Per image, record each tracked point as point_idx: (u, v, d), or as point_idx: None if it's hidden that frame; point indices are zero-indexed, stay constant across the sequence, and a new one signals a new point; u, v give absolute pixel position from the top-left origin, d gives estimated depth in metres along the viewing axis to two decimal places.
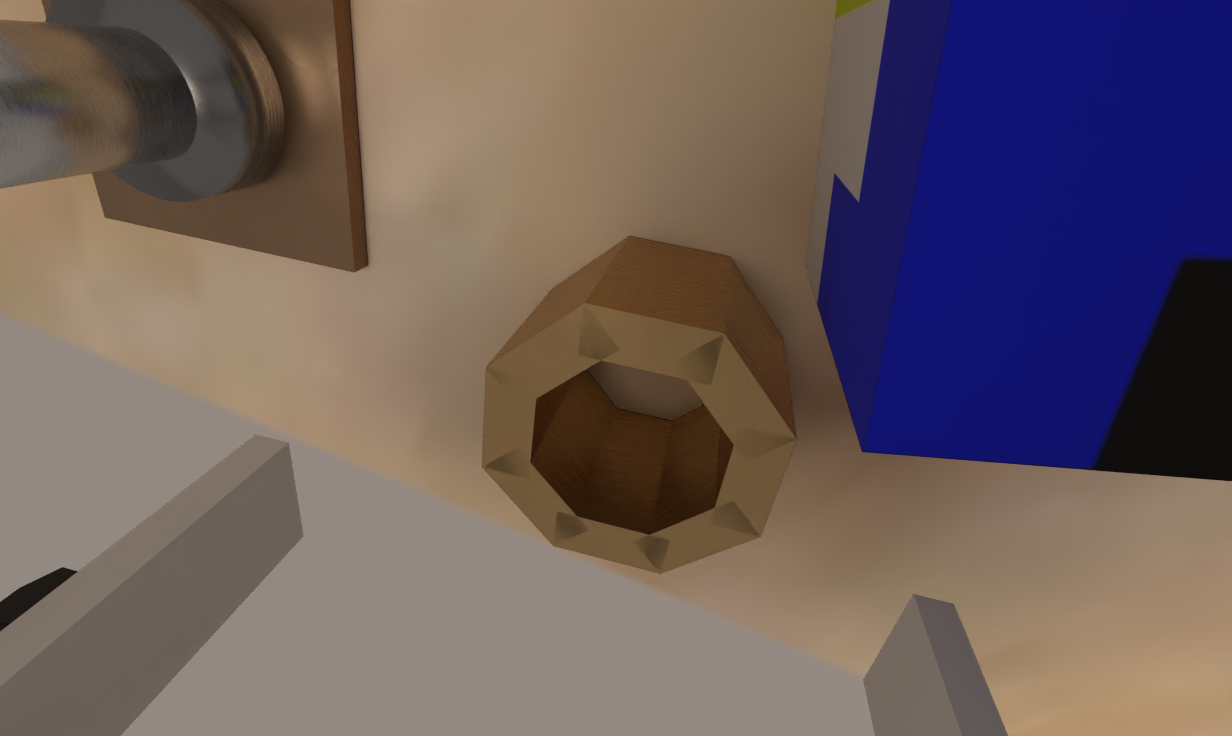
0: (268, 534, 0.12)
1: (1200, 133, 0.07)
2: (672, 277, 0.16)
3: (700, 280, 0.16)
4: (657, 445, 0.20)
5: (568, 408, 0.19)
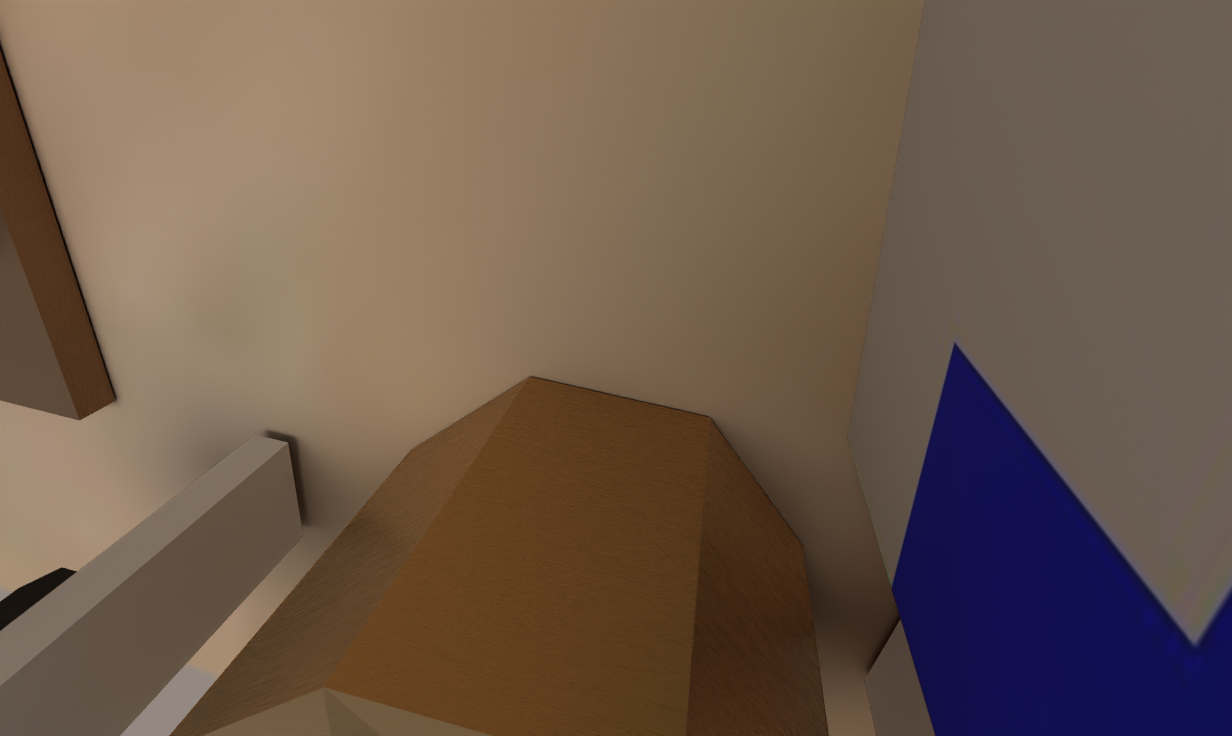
0: (267, 534, 0.12)
1: None
2: (585, 514, 0.08)
3: (644, 515, 0.08)
4: None
5: None
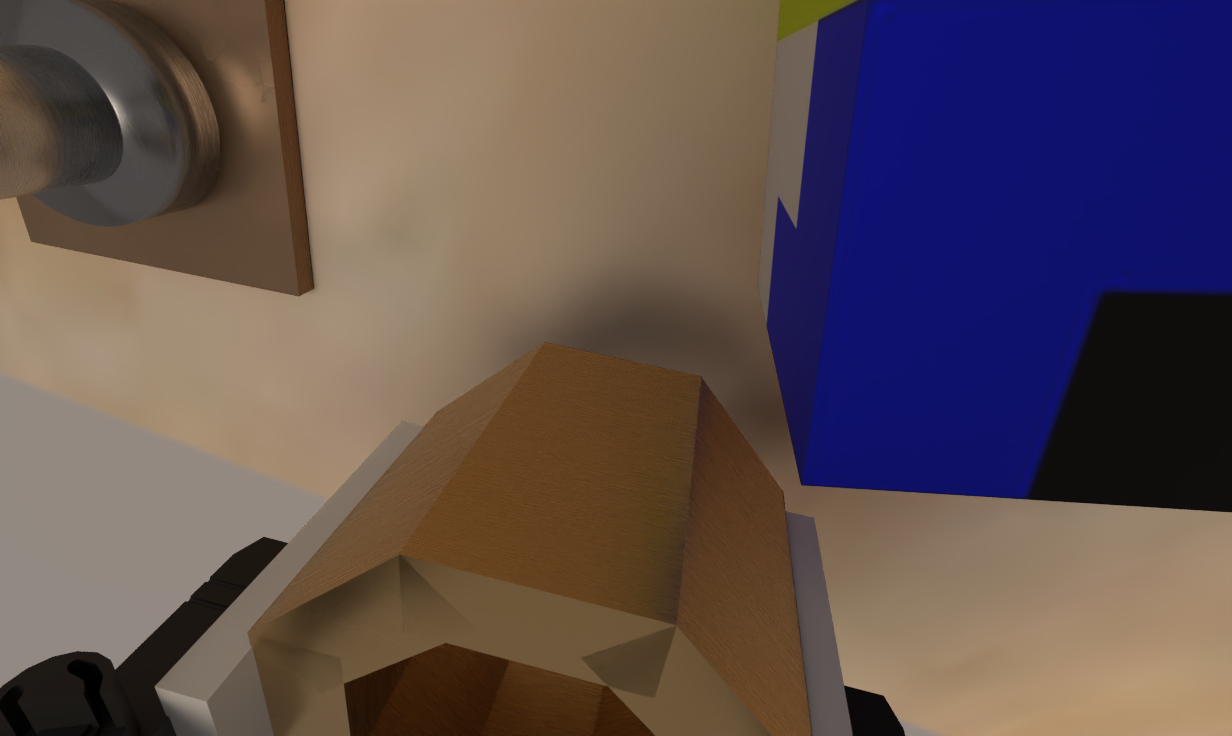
0: None
1: (1112, 169, 0.07)
2: (597, 445, 0.09)
3: (645, 446, 0.09)
4: None
5: None
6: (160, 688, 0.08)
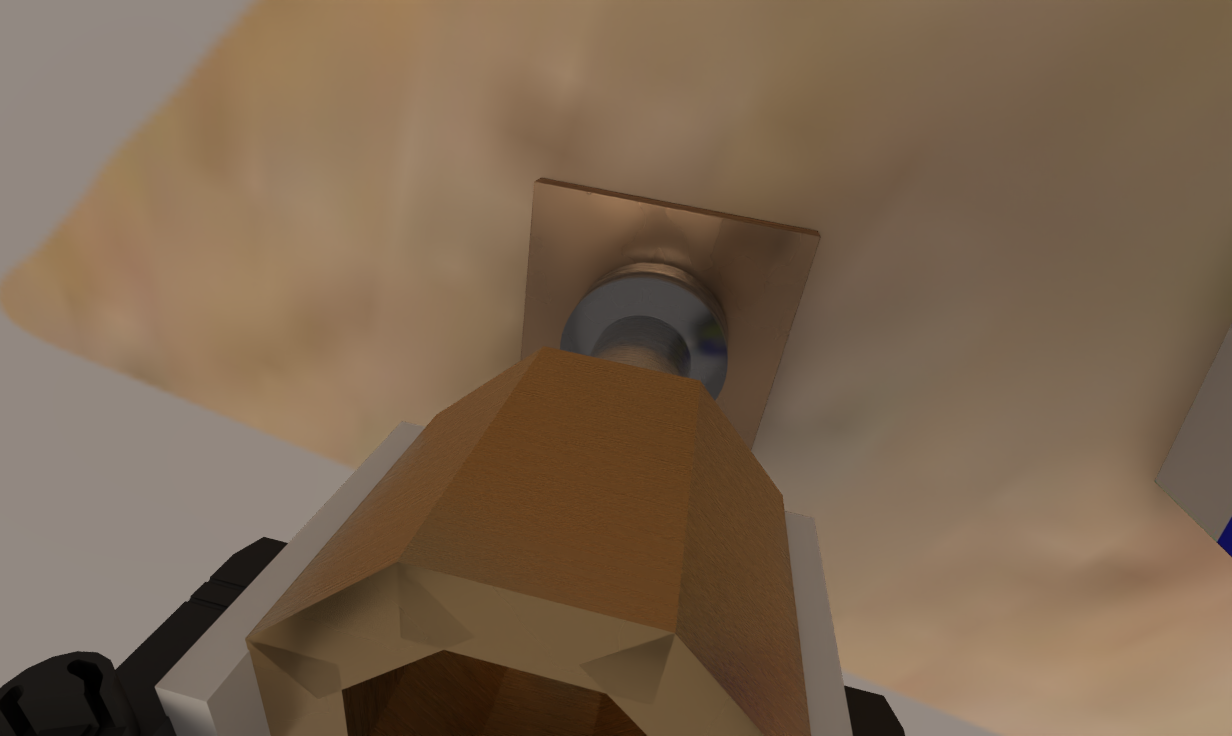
0: None
1: None
2: (595, 450, 0.09)
3: (645, 452, 0.09)
4: None
5: None
6: (160, 688, 0.08)
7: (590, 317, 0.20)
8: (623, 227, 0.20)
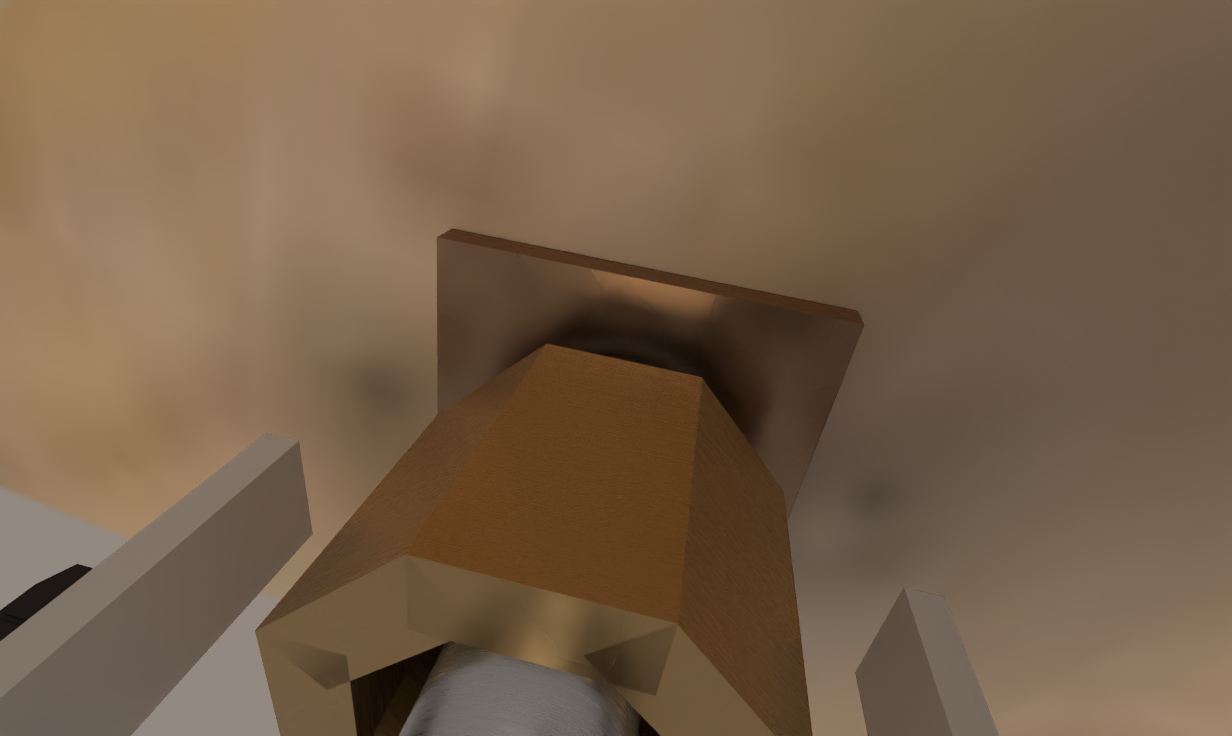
0: (278, 532, 0.12)
1: None
2: (599, 445, 0.09)
3: (647, 447, 0.09)
4: None
5: None
6: None
7: None
8: (569, 304, 0.14)
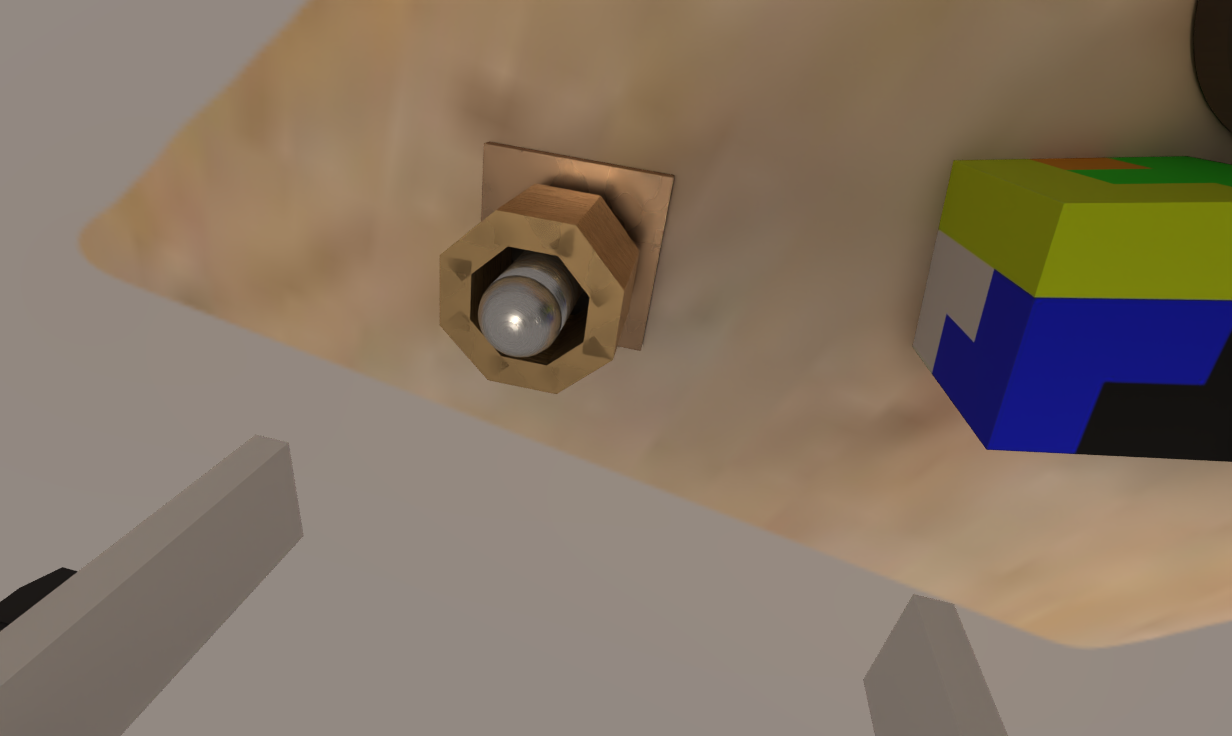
0: (268, 534, 0.12)
1: (1107, 346, 0.21)
2: (555, 202, 0.26)
3: (573, 204, 0.26)
4: None
5: None
6: None
7: None
8: (545, 174, 0.30)
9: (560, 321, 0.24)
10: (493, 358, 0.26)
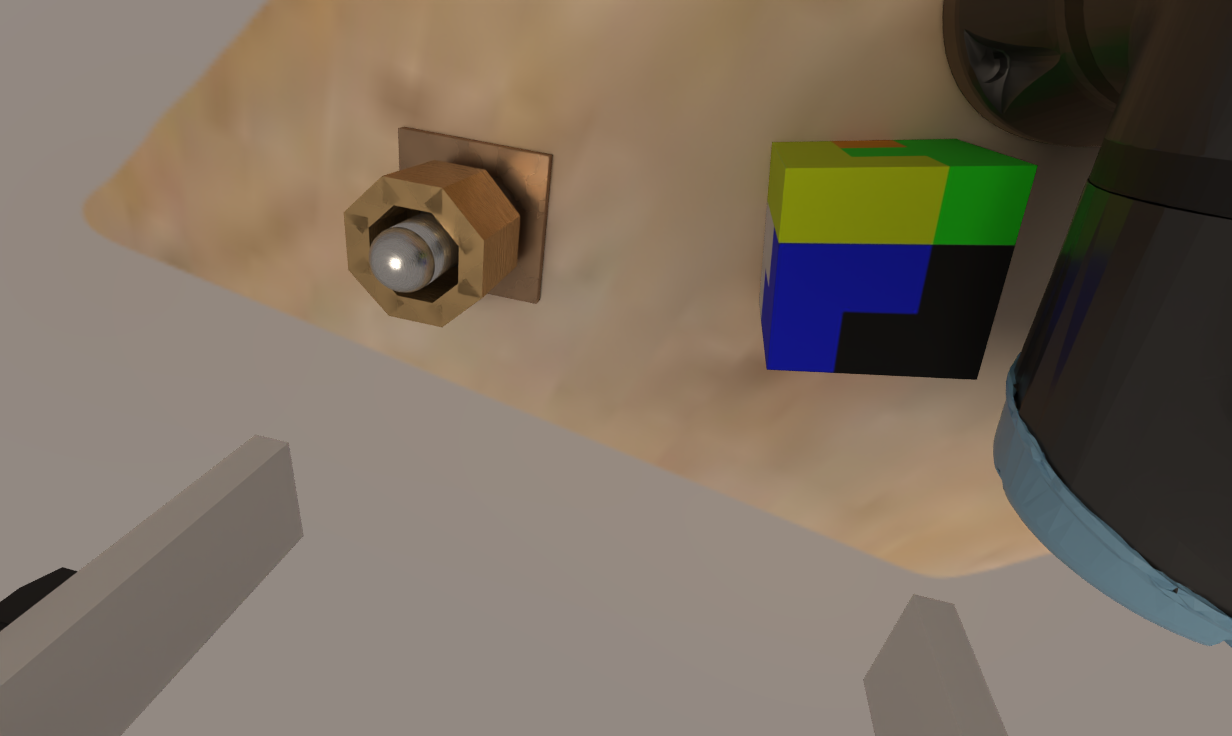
0: (268, 534, 0.12)
1: (839, 282, 0.27)
2: (439, 173, 0.32)
3: (454, 175, 0.33)
4: (458, 277, 0.37)
5: None
6: None
7: None
8: (447, 153, 0.37)
9: (432, 263, 0.30)
10: (391, 297, 0.33)
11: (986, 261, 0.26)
